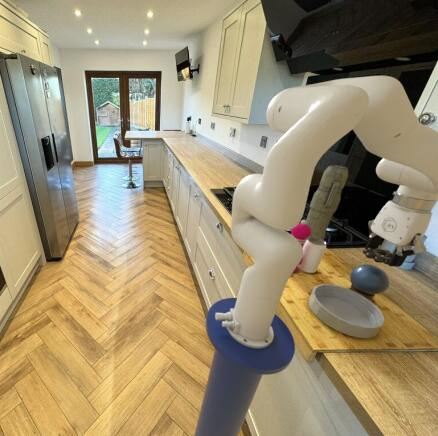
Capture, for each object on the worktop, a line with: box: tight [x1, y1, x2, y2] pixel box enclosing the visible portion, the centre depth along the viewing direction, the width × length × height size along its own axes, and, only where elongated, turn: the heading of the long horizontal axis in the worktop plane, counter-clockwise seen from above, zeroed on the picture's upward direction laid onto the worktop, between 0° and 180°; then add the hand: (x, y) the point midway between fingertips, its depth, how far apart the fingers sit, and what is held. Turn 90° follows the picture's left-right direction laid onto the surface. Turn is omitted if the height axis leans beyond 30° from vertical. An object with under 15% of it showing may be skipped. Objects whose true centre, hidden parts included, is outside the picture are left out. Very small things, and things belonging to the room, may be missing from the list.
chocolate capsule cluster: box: [362, 247, 394, 266], centre depth 69 cm, size 9×7×2 cm
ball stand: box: [348, 264, 390, 302], centre depth 74 cm, size 9×9×12 cm
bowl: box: [307, 283, 385, 339], centre depth 68 cm, size 16×16×4 cm
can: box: [298, 237, 327, 274], centre depth 86 cm, size 6×6×12 cm
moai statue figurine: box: [302, 164, 349, 248], centre depth 96 cm, size 9×12×35 cm
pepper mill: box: [290, 219, 311, 274], centre depth 84 cm, size 7×7×20 cm
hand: (381, 257), depth 69 cm, fingers closed on chocolate capsule cluster, 7 cm apart
